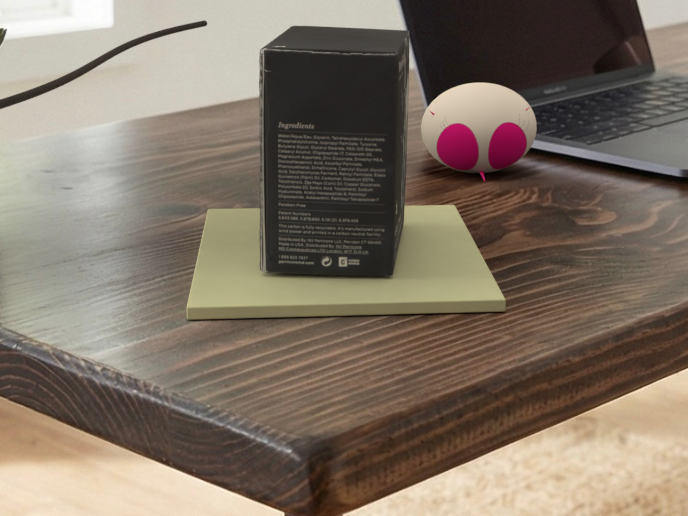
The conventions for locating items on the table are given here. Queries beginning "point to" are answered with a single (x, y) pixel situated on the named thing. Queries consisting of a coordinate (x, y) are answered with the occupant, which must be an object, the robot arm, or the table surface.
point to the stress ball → (478, 128)
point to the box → (333, 150)
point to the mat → (343, 290)
